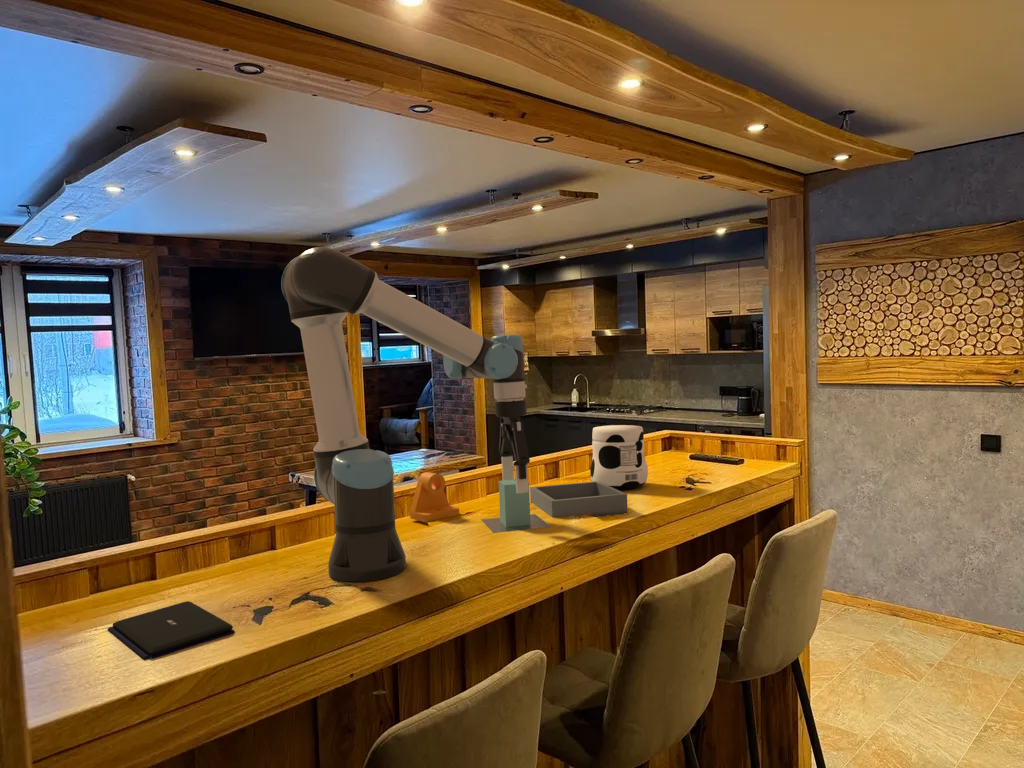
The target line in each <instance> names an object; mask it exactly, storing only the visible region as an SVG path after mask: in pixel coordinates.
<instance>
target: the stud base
mask: <svg viewBox="0 0 1024 768" xmlns="http://www.w3.org/2000/svg"><path fill="white" fill-rule="evenodd" d="M480 521H481V522H482V523H484V525H485V526H486V527H487V529H489V530H490V531H491V532H492V533H493V534H495V533H496V534H497V533H506V532H508V533H509V532H515V531H525V530H526V531H527V530H536V529H546V528H552V526H551V525H550V524H549V523H547V522H546V521H545V520H544V519H542V518H541V517H540V516H539V515H537V514H536V513H533V514H530V523H531V525H522V526H512V527H505V526H504V525H503V524H502V523H501V522H500V517H492V518H491V517H490V518H482V519H480Z"/></svg>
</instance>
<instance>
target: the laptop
mask: <svg viewBox="0 0 1024 768" xmlns="http://www.w3.org/2000/svg"><path fill="white" fill-rule="evenodd" d="M107 631H108V632H109V633H110V634H111V635H113V636H114V638H116V639H117V640H119V641H120V642H121V643H122V644H123V645H125V646H126V647H127V648H128V649H129V650H131V651H132V652H133V653H135V654H136V655H137V656H138V657H140V659H142V660H143V661H146V660H149V659H151V660H155V659H157V658H159V657H162V656H167V655H169V654H172V653H176V652H179V651H182V650H185V649H189V648H192V647H195V646H198V645H201V644H205V643H207V642H211V641H214V640H216V639H217V640H218V639H221V638H224V637H227V636H231V635H233V634H235V633H236V632H235V629H234V627H233V625H232V624H231V623H229V622H227V621H225V620H224V619H222V618H221V617H218V616H217V615H216V614H215V615H214V614H213V613H211V612H209V611H208V610H206V609H204V608H203V607H200V606H199V605H197V604H195V603H193V602H192V601H189V600H188V601H183V602H178V603H176V604H172V605H169V606H165V607H162V608H158V609H155V610H152V611H148V612H144V613H141V614H138V615H134V616H131V617H128V618H124V619H120V620H118V621H115V622H113V623H112V626H109V627H108V628H107Z"/></svg>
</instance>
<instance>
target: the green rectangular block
mask: <svg viewBox="0 0 1024 768" xmlns="http://www.w3.org/2000/svg"><path fill="white" fill-rule="evenodd" d="M528 491H529V492H527V493H516V478H514V480H503V479H502V480H498V498H499V499H498V501H499V518H500V522H501V523H502V524H503V525H504V526H505V527H512V526H522V525H531V523H530V515H531V500H530V483H529V482H528Z"/></svg>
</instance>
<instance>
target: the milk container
mask: <svg viewBox="0 0 1024 768" xmlns="http://www.w3.org/2000/svg"><path fill="white" fill-rule="evenodd" d="M591 434H592V437H591V438H592V442H591V446H592V458H591V459H592V460H591V464H590V468H589V471H590V478H591V482H594V481H599V482H602V483H604V484H606V485H608V486H610V487H612V488H615V489H617V490H624V489H632V488H633V489H635V488H638V487H641V486H643V485H644V484H645V483H646V482H647V480H648V475H649V469H648V468H649V467H648V464H647V461H646V457H645V440H644V439H645V437H644V428H643V426H640V425H633V424H630V425H629V424H628V425H627V424H616V425H615V424H611V425H602V426H595V427H593V428H592V433H591Z"/></svg>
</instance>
